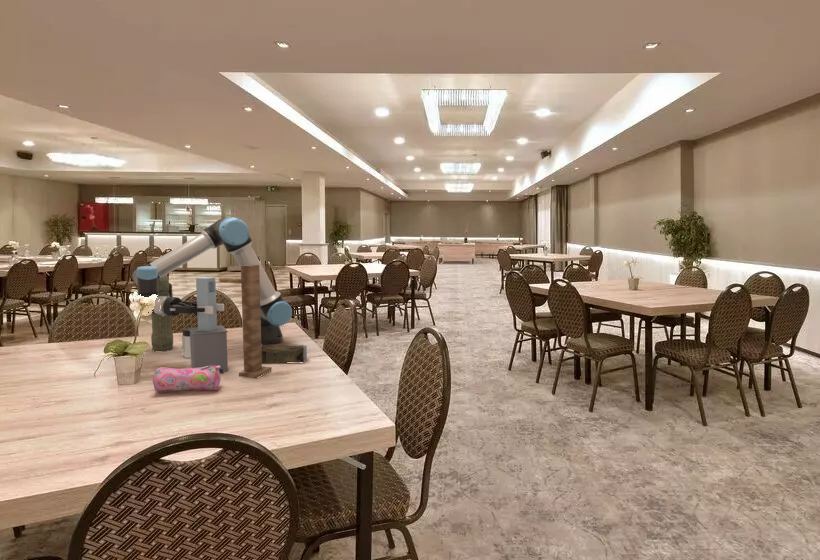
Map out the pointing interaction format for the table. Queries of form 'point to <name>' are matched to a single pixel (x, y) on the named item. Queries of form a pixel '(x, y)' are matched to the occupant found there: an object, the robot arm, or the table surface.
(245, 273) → the walnut stand
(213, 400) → the table surface
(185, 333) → the jar
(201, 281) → the grey tall block
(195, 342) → the lidded box
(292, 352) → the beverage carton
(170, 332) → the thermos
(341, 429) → the table surface
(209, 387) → the pencil case
